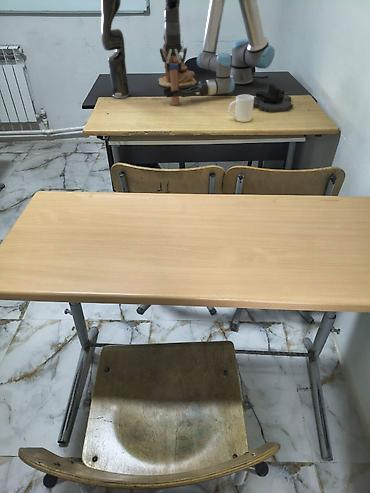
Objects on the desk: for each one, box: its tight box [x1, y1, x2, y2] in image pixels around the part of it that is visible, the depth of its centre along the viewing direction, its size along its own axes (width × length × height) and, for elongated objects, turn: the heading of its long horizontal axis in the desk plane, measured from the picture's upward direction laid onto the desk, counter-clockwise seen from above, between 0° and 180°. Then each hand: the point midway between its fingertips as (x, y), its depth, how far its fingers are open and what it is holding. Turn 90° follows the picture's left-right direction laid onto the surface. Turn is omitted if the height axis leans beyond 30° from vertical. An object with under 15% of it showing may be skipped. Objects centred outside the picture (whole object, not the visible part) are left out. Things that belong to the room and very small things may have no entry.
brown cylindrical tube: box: [170, 69, 180, 106], centre depth 188 cm, size 4×4×19 cm
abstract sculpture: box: [253, 83, 294, 113], centre depth 185 cm, size 25×9×20 cm
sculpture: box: [157, 32, 198, 89], centre depth 214 cm, size 27×24×30 cm
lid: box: [169, 63, 179, 69], centre depth 182 cm, size 5×5×2 cm
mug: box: [227, 94, 255, 123], centre depth 170 cm, size 12×8×10 cm
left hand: (174, 70), depth 183 cm, fingers closed on lid, 4 cm apart
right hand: (165, 93), depth 188 cm, fingers closed on brown cylindrical tube, 4 cm apart
